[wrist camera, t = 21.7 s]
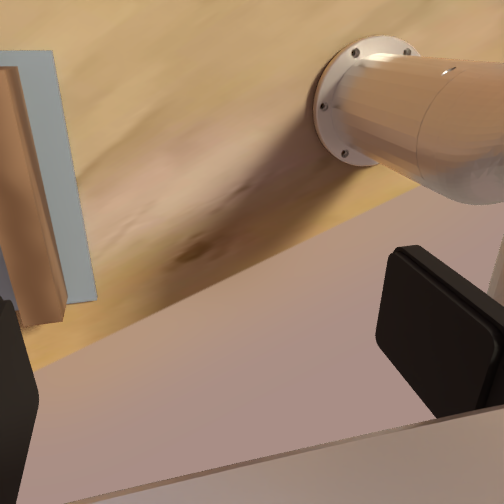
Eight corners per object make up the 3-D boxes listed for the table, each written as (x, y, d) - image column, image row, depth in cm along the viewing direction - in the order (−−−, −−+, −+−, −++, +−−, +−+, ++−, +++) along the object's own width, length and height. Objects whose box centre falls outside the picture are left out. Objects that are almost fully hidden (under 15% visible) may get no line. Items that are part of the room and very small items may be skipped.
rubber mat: (52, 50, 36) (51, 50, 35) (97, 297, 46) (97, 300, 46) (-73, 50, 34) (-76, 51, 33) (5, 308, 44) (3, 311, 44)
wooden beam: (17, 66, 35) (3, 70, 31) (67, 296, 45) (62, 321, 41) (-30, 66, 34) (-50, 70, 30) (32, 300, 44) (23, 326, 40)
